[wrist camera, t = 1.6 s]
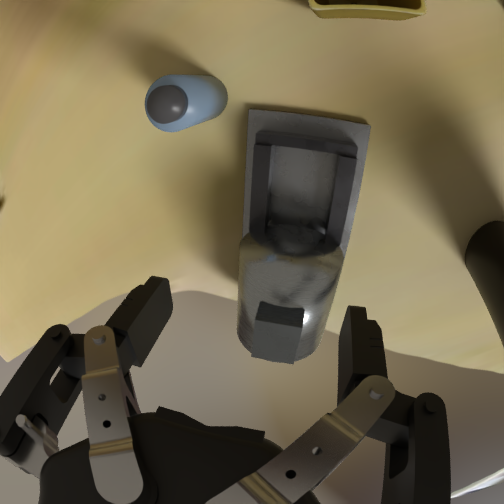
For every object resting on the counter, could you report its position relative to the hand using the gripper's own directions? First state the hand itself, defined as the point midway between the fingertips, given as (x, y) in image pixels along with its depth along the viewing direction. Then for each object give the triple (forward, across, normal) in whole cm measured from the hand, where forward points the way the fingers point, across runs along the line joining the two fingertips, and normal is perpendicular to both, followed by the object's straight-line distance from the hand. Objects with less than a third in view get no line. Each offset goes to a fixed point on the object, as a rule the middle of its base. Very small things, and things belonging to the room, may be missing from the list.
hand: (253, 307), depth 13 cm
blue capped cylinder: (+21, +10, -8) cm, 25 cm away
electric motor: (+21, -1, +6) cm, 22 cm away
